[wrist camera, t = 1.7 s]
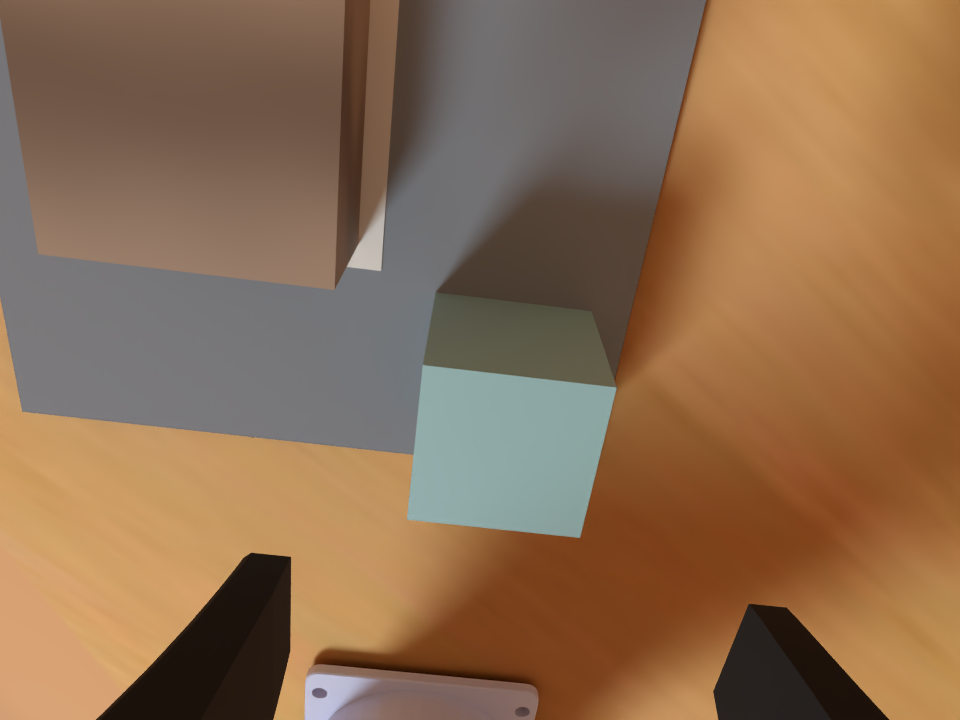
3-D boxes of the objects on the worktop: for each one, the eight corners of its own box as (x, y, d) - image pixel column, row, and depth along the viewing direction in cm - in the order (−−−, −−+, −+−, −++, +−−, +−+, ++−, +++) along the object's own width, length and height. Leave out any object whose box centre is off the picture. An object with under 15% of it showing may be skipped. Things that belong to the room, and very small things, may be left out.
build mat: (590, 468, 21) (592, 475, 21) (28, 406, 20) (21, 412, 20) (725, -95, 14) (730, -97, 14) (-88, -218, 14) (-101, -222, 13)
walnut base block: (358, 245, 17) (334, 290, 15) (108, 213, 17) (38, 254, 14) (372, -34, 15) (346, -40, 12) (75, -76, 14) (-18, -92, 12)
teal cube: (563, 441, 20) (580, 537, 16) (421, 425, 20) (407, 519, 16) (591, 311, 18) (616, 387, 15) (435, 291, 18) (422, 364, 14)
